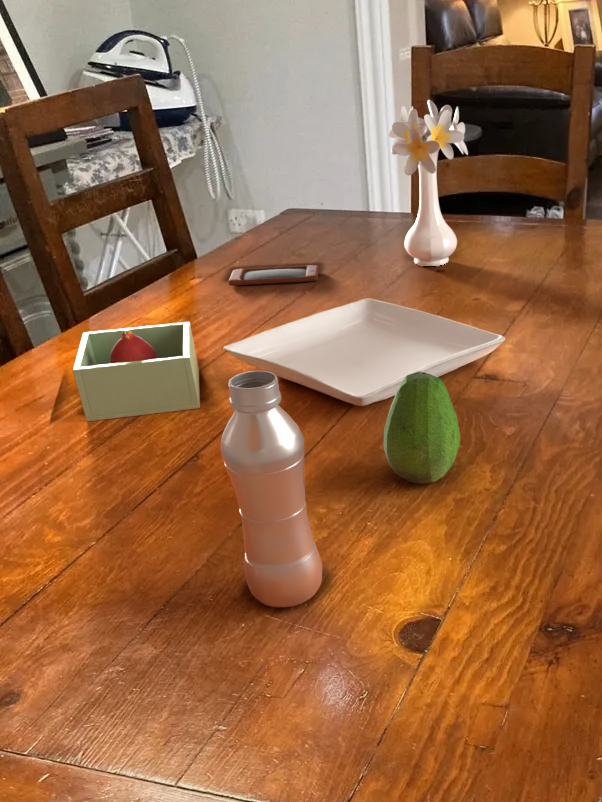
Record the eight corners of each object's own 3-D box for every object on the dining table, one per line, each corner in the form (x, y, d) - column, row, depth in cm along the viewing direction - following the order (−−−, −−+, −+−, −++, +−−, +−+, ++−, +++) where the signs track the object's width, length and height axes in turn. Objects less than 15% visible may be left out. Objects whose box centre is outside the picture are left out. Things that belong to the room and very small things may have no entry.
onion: (125, 382, 123) (111, 322, 118) (169, 381, 123) (156, 320, 118) (112, 399, 118) (96, 338, 113) (157, 398, 118) (143, 336, 113)
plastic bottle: (339, 599, 82) (312, 381, 70) (268, 626, 79) (228, 404, 67) (305, 566, 86) (275, 357, 74) (237, 591, 83) (194, 377, 71)
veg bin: (86, 421, 114) (72, 370, 110) (95, 380, 125) (82, 332, 121) (199, 408, 116) (189, 357, 113) (199, 369, 127) (189, 321, 123)
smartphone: (316, 276, 158) (227, 280, 157) (317, 281, 158) (228, 286, 158) (318, 264, 163) (232, 268, 163) (319, 269, 164) (233, 274, 163)
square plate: (362, 426, 111) (359, 395, 108) (223, 372, 126) (218, 344, 124) (508, 359, 127) (508, 331, 124) (369, 319, 142) (367, 293, 140)
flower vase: (395, 280, 158) (385, 115, 143) (398, 250, 173) (388, 98, 158) (472, 277, 158) (469, 112, 143) (468, 247, 173) (465, 95, 158)
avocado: (454, 499, 95) (450, 388, 89) (379, 494, 97) (370, 385, 90) (466, 463, 102) (464, 357, 95) (396, 460, 103) (389, 354, 96)
